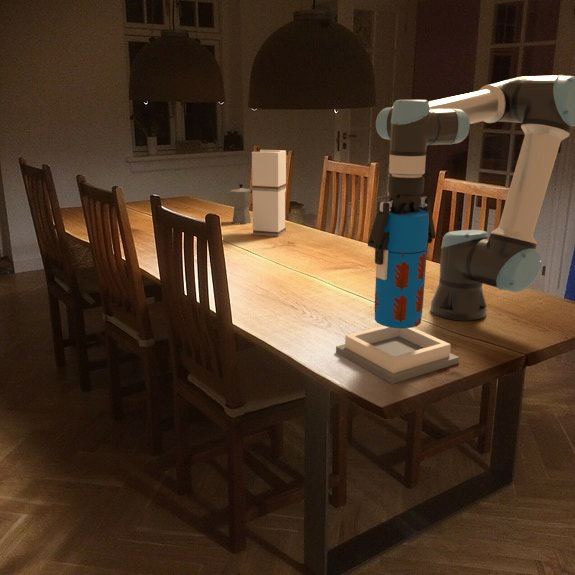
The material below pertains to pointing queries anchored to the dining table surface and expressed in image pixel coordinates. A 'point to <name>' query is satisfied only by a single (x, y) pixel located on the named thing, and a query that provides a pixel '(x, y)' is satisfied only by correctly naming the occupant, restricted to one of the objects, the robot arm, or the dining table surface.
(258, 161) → the cream tall block
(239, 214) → the coffeepot
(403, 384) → the dining table surface
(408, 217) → the thermos
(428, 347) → the holder
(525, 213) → the robot arm
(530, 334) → the dining table surface
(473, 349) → the dining table surface
